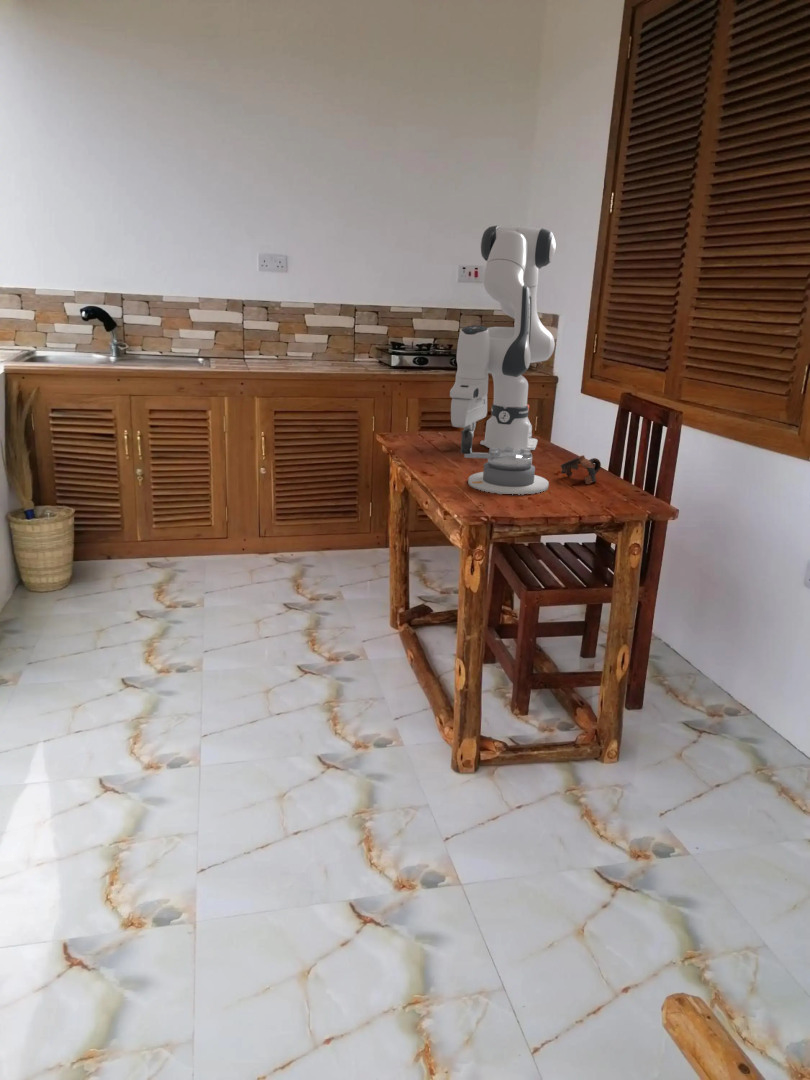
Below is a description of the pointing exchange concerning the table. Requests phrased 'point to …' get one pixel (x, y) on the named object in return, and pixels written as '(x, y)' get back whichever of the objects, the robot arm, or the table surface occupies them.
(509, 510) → the table surface
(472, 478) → the base plate
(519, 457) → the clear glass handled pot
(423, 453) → the table surface
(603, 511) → the table surface
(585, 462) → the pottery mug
